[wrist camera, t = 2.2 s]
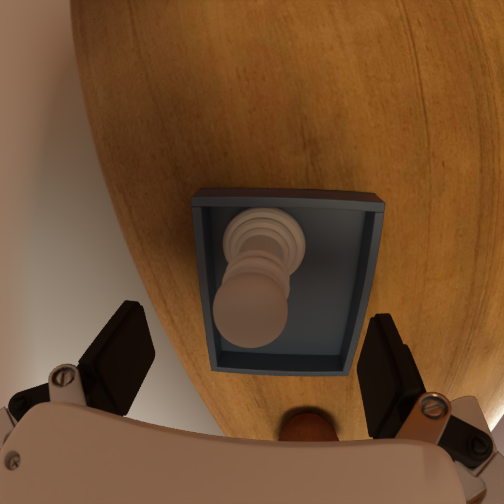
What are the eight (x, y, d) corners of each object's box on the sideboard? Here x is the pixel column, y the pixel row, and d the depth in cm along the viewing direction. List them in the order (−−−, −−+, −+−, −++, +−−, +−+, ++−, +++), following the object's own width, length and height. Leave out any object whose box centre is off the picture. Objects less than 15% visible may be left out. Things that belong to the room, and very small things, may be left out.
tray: (201, 187, 18) (190, 196, 16) (374, 193, 17) (385, 202, 15) (216, 352, 24) (211, 371, 22) (344, 356, 23) (348, 376, 21)
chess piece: (231, 280, 21) (201, 376, 13) (217, 208, 19) (167, 279, 11) (307, 275, 20) (317, 374, 12) (301, 199, 18) (316, 269, 10)
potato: (342, 399, 26) (350, 466, 19) (339, 446, 31) (342, 497, 23) (269, 406, 27) (263, 472, 20) (282, 451, 32) (278, 502, 25)
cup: (427, 408, 26) (450, 490, 16) (485, 388, 25) (515, 458, 14) (413, 440, 30) (427, 509, 19) (465, 423, 28) (485, 485, 18)
